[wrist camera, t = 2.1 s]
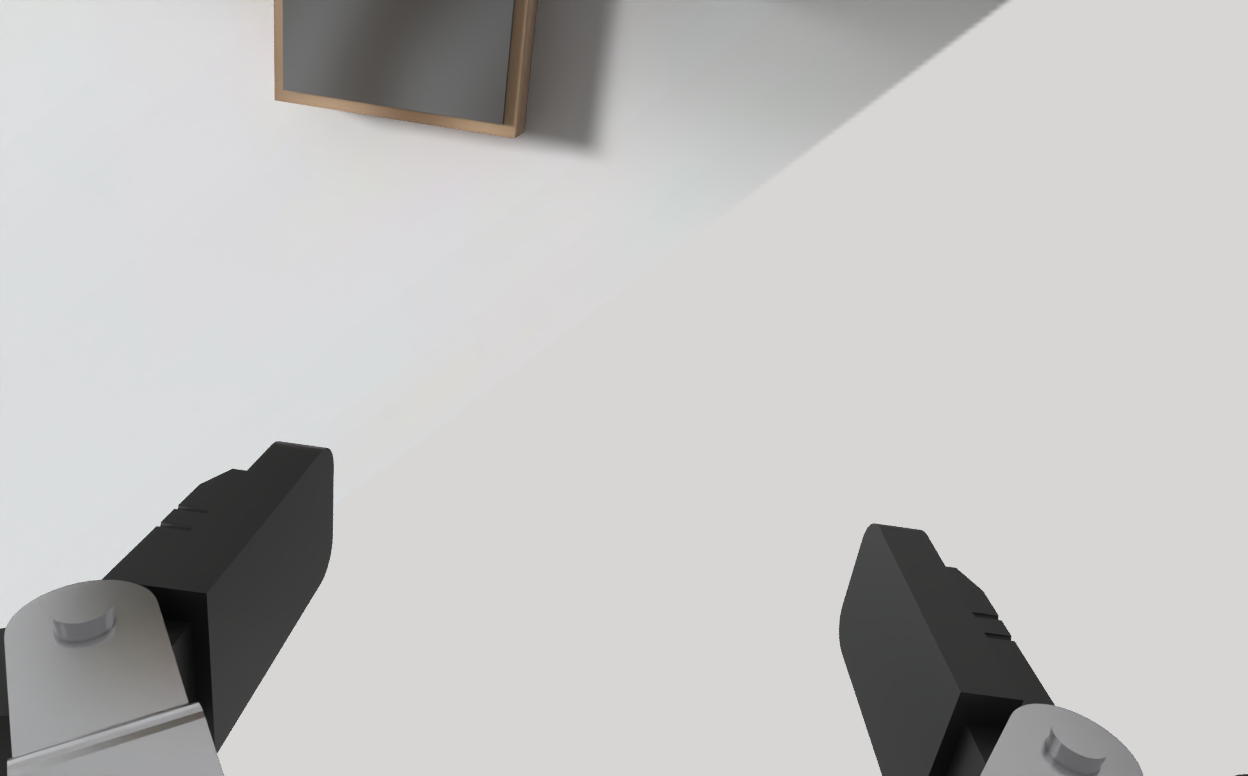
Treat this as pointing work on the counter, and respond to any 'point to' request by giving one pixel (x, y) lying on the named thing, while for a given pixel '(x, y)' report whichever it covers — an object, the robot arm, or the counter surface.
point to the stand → (409, 59)
